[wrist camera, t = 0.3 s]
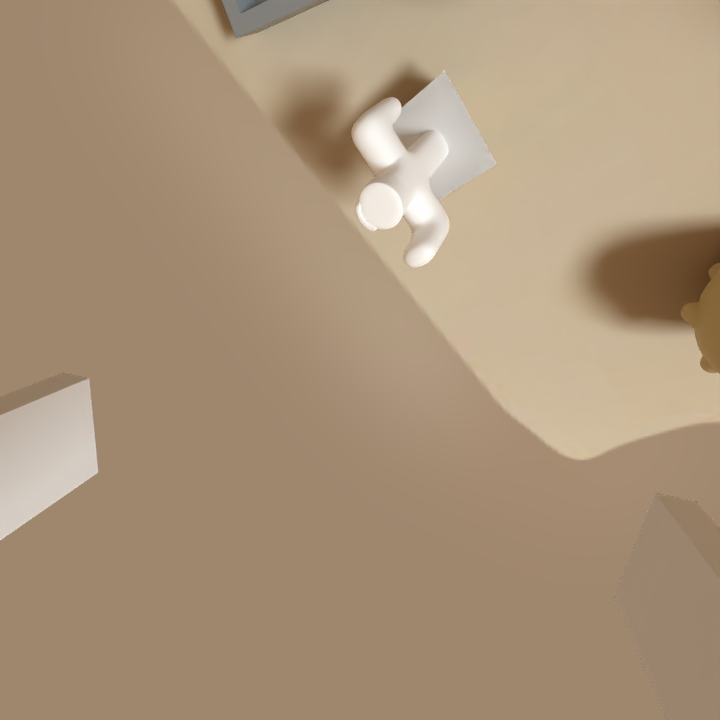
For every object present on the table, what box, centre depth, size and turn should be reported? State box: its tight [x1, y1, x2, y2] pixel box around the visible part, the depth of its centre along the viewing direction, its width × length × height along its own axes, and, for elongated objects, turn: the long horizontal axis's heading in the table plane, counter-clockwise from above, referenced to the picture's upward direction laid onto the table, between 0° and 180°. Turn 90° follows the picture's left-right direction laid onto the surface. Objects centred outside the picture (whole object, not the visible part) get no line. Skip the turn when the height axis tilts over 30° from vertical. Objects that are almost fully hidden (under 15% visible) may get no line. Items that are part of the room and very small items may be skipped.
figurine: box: [351, 71, 497, 267], centre depth 30 cm, size 7×9×15 cm
